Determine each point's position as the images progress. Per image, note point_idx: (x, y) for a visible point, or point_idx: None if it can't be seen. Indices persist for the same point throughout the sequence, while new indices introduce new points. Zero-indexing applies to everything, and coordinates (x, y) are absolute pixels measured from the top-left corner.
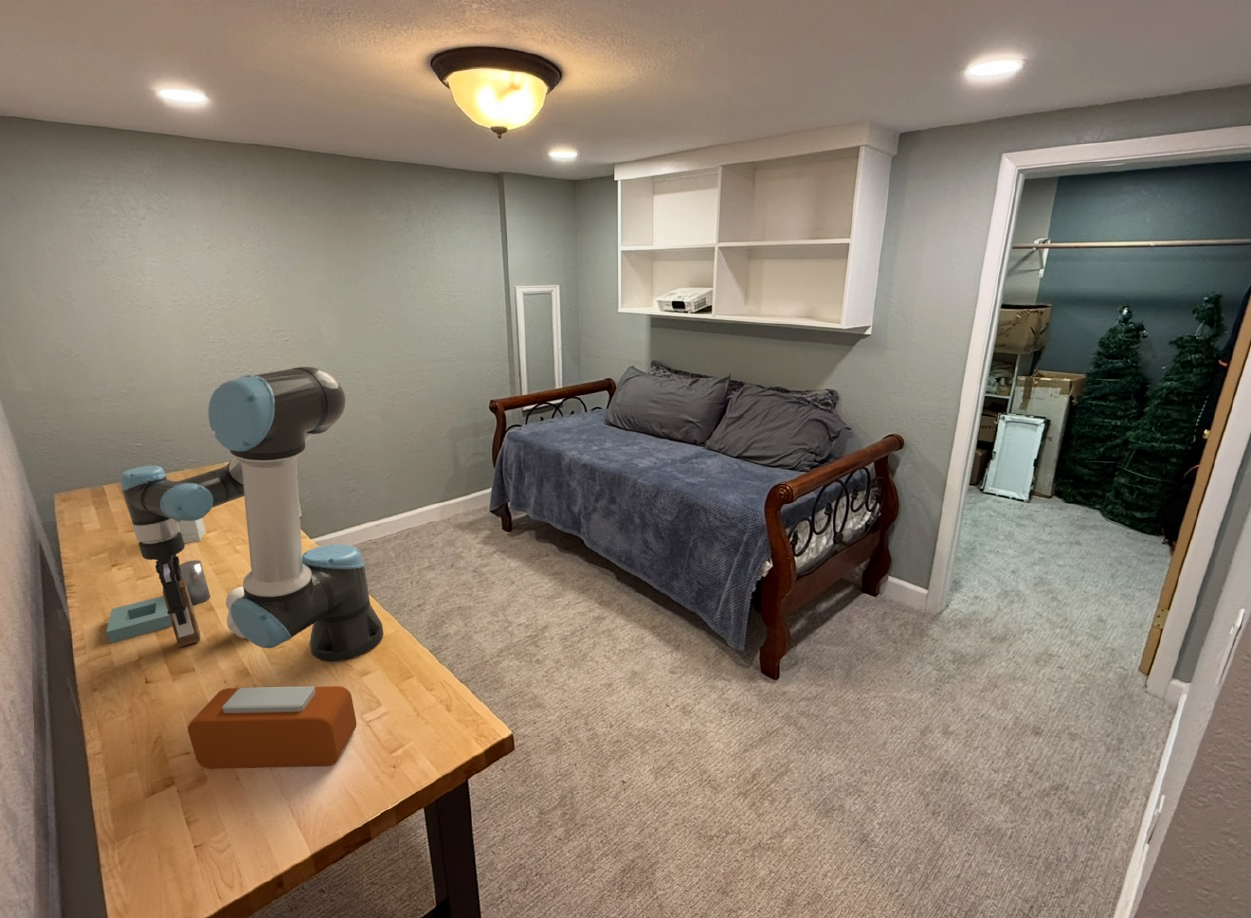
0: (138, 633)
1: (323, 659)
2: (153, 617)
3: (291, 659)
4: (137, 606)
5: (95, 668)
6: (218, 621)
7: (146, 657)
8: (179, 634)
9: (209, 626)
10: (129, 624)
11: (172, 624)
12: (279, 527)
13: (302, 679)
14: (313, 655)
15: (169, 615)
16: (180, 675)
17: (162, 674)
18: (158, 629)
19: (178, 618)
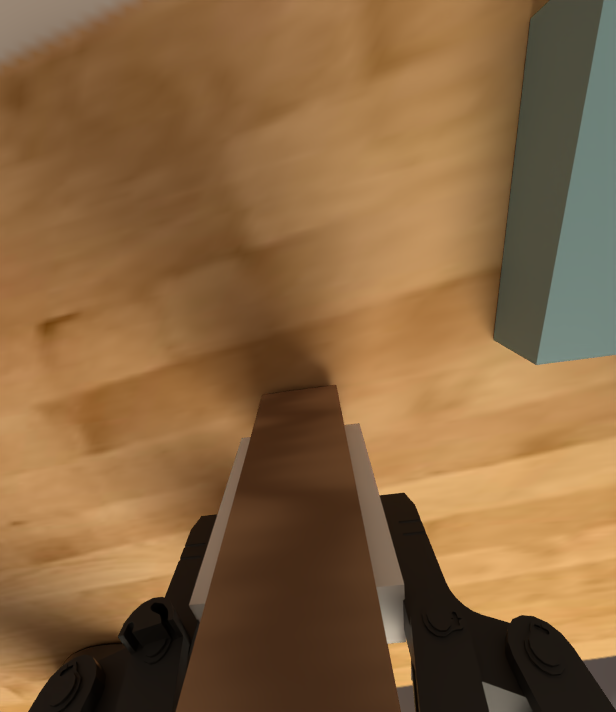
0: (518, 189)
1: (66, 662)
2: (580, 277)
3: (95, 617)
4: None
5: (240, 16)
6: (410, 476)
7: (249, 280)
8: (239, 452)
9: (389, 456)
10: (602, 132)
11: (239, 482)
12: None
13: (7, 631)
14: (91, 648)
15: (222, 547)
16: (72, 420)
17: (91, 366)
18: (501, 280)
19: (180, 572)
